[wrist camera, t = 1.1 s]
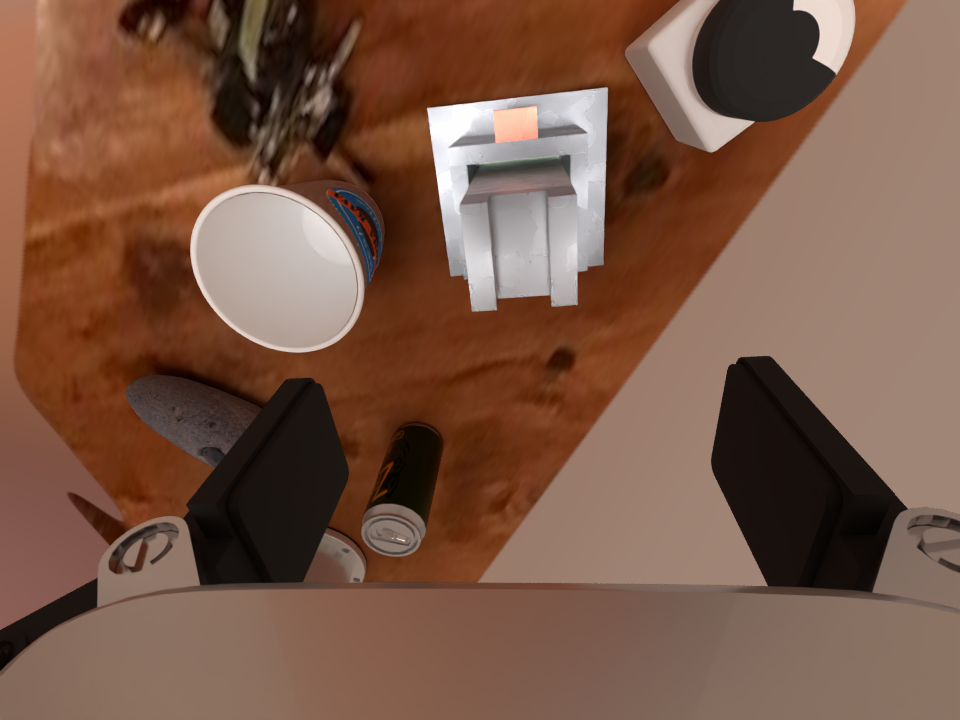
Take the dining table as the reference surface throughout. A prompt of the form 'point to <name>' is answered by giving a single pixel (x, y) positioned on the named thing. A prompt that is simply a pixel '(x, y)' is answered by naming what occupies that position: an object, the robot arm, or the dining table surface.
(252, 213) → the coffee cup
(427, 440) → the beer can
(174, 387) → the perforated stone tool
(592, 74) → the dining table surface
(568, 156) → the base
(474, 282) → the jack column
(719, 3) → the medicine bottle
